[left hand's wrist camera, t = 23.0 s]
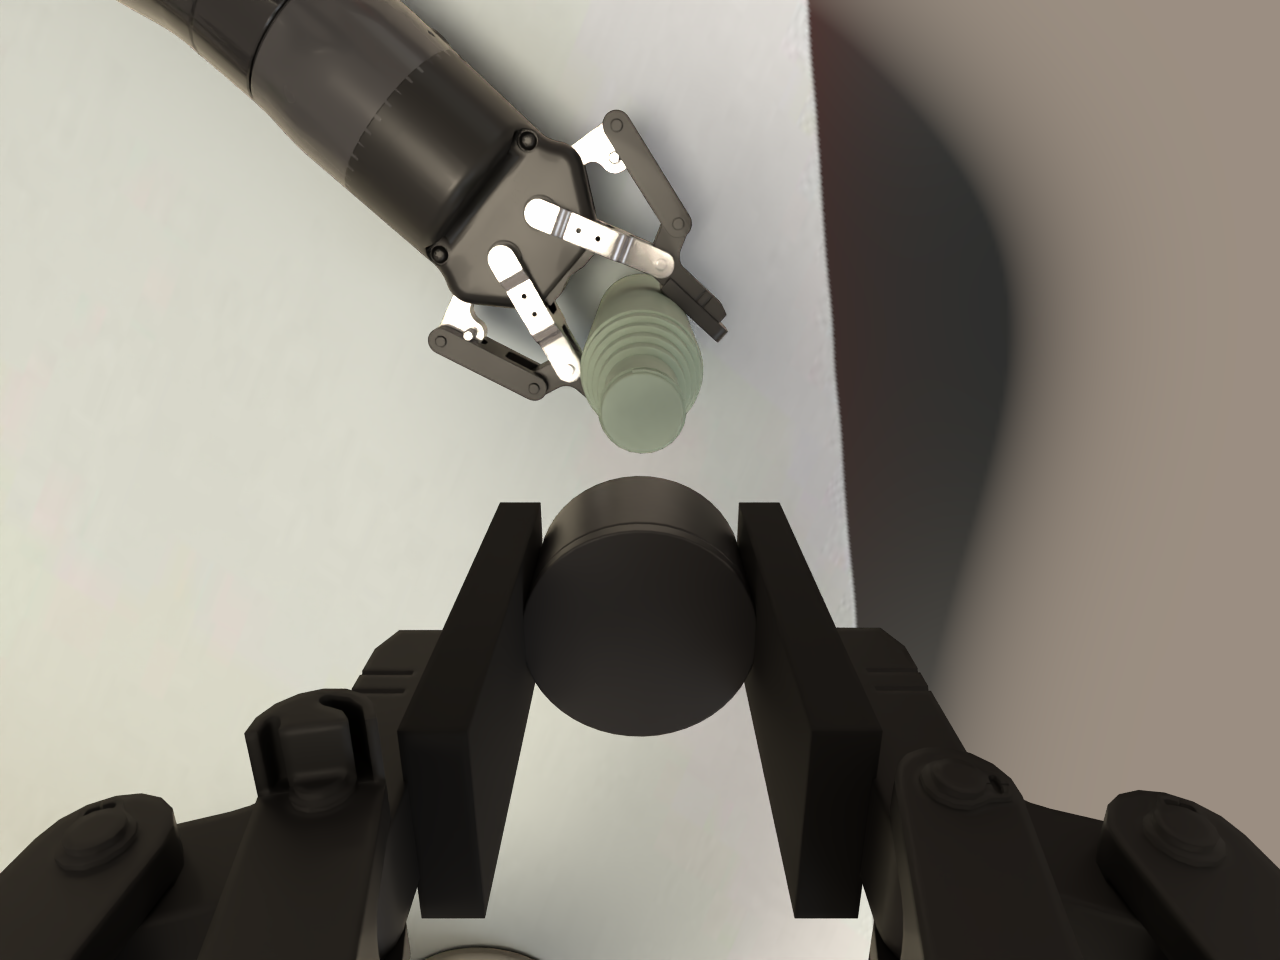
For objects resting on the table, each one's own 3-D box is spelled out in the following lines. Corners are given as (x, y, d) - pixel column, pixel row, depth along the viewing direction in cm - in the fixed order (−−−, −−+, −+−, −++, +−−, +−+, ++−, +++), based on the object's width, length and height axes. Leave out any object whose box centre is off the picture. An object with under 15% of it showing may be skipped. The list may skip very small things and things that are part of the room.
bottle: (686, 357, 44) (721, 479, 25) (602, 364, 44) (574, 490, 25) (680, 270, 42) (714, 331, 23) (593, 277, 42) (556, 344, 24)
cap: (780, 548, 14) (807, 616, 12) (661, 687, 16) (664, 773, 13) (614, 435, 14) (609, 484, 11) (501, 589, 15) (475, 663, 12)
